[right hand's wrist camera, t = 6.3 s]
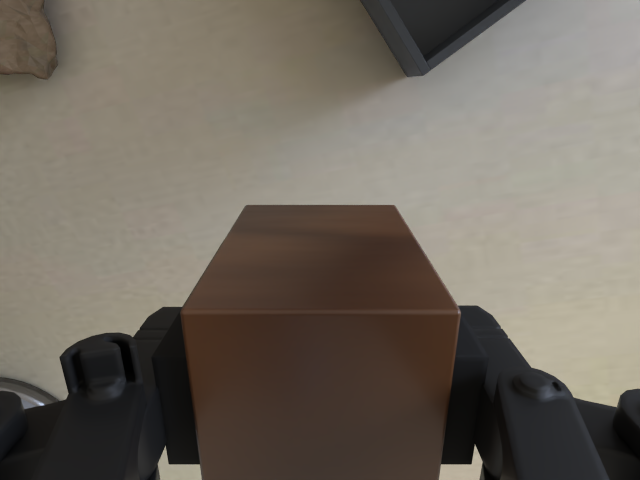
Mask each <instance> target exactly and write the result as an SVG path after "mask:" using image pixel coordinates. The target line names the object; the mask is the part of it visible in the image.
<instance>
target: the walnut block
mask: <svg viewBox="0 0 640 480" xmlns="http://www.w3.org/2000/svg"><path fill="white" fill-rule="evenodd" d="M180 314H181V322H182V330H183V337H184V345H185V353H186V360H187V368H188V376H189V383H190V391H191V399H192V406H193V414H194V422H195V429H196V437H197V445H198V452H199V460H200V468H201V475H202V480H439V474H440V466H441V459H442V451H443V444H444V436H445V429H446V421H447V414H448V407H449V399H450V392H451V384H452V377H453V369H454V362H455V354H456V347H457V339H458V332H459V324H460V317H461V311H460V309H459V307H458V306H457V304H456V303H455V301H454V299H453V298H452V296H451V294H450V293H449V291H448V290H447V288H446V286H445V285H444V283H443V282H442V280H441V278H440V277H439V275H438V274H437V272H436V270H435V269H434V267H433V266H432V264H431V262H430V261H429V259H428V258H427V256H426V254H425V253H424V251H423V250H422V248H421V246H420V245H419V243H418V242H417V240H416V238H415V237H414V235H413V234H412V232H411V230H410V229H409V227H408V226H407V224H406V222H405V221H404V219H403V218H402V216H401V214H400V213H399V211H398V209H397V208H396V206H394V205H246V206H245V207H244V209H243V211H242V212H241V214H240V215H239V217H238V219H237V220H236V222H235V223H234V225H233V227H232V228H231V230H230V232H229V233H228V235H227V236H226V238H225V240H224V241H223V243H222V244H221V246H220V248H219V249H218V251H217V253H216V254H215V256H214V257H213V259H212V261H211V262H210V264H209V266H208V267H207V269H206V270H205V272H204V274H203V275H202V277H201V278H200V280H199V282H198V283H197V285H196V287H195V288H194V290H193V291H192V293H191V295H190V296H189V298H188V300H187V301H186V303H185V304H184V306H183V308H182V309H181V312H180Z"/></svg>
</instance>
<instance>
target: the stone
mask: <svg viewBox="0 0 640 480" xmlns="http://www.w3.org/2000/svg"><path fill="white" fill-rule="evenodd" d="M43 6H44V0H0V74H7V75H9V74H13V73H17V74H33V75H34V76H36V77H38V78H41V79H48V78H49V77H50V76H51V75H52V73H53V71H54V69H55V68H56V67H57V64H58V61H57V58H56V54H57V53H56V43H55V39H54V36H53V33H52V30H51V26H50V23H49V21H48V19H47V17H46V15H45V13H44V9H43Z"/></svg>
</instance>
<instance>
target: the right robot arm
mask: <svg viewBox="0 0 640 480" xmlns="http://www.w3.org/2000/svg"><path fill="white" fill-rule="evenodd" d="M222 243H223V242H222ZM219 248H220V247H219ZM216 253H217V252H216ZM214 256H215V255H214ZM211 261H212V260H211ZM209 264H210V263H209ZM208 266H209V265H208ZM206 269H207V268H206ZM204 272H205V271H204ZM203 274H204V273H203ZM201 277H202V276H201ZM198 282H199V281H198ZM196 285H197V284H196ZM195 287H196V286H195ZM193 290H194V289H193ZM191 293H192V292H191ZM190 295H191V294H190ZM188 298H189V297H188ZM187 300H188V299H187ZM187 300H186V301H187ZM185 303H186V302H185ZM183 306H184V305H183ZM458 307H459V309H460V311H461V317H460V324H459V332H458V339H457V347H456V354H455V362H454V369H453V377H452V384H451V392H450V399H449V407H448V414H447V421H446V429H445V436H444V444H443V451H442V459H441V464H472V458H473V452H474V446H475V445H476V447H477V449H478V452H479V454H480V456H481V459H482V461H483V463H482V469H481V475H480V480H640V389H633V390H627V391H625V392H624V393H623V394H622V395H620V399H619V402H618V405H617V407H612V406H608V405H603V404H598V403H594V402H589V401H584V400H580V399H577V398H573V396H572V394H571V392H570V391H569V389H568V388H567V387H566V385H565V384H564V383H562V382H561V381H560V380H558V379H557V378H556V377H554V376H552V375H550V374H548V373H546V372H544V371H541V370H538V369H534V368H531V367H530V365H529V364H528V363H527V361H526V360H525V359H524V357H523V356H522V355H521V353H520V352H519V351H518V349H517V348H516V347H515V345H514V344H513V343H512V341H511V340H510V339H508V336H507V335H506V333H505V332H504V331H503V329H501V327H500V325H499V324H498V323H497V321H496V320H495V318H494V317H493V316H492V315H491V314H489V313H488V312H486V311H485V310H483V309H482V308H480V307H479V306H458ZM182 308H183V307H162V308H161V309H159V310H158V311H156V312H155V313H153V314H152V315H150V316H149V317H148V318H147V319H146V321H145V322H144V323H143V325H142V326H141V327H140V330H138V331H137V333H136V334H135V335H134V337H131V336H130V335H127V334H123V333H104V334H100V335H95V336H91V337H89V338H86V339H84V340H81V341H79V342H77V343H75V344H74V345H72V346H71V347H69V348H67V349H66V350H65V351H64V353H63V354H62V355H61V356H60V361H61V365H62V369H63V373H64V377H65V381H66V385H67V389H68V393H69V394H68V397H67V399H66V400H63V401H58V400H57V399H55V398H54V397H53V396H51V395H50V394H48V393H46V392H45V391H43V390H41V389H39V388H37V387H35V386H32V385H30V384H27V383H24V382H21V381H17V380H13V379H8V378H0V480H160V475H159V469H158V462H159V459H160V457H161V455H162V452H163V450H164V448H165V445H166V450H167V456H168V462H169V464H200V460H199V452H198V445H197V437H196V429H195V422H194V414H193V406H192V399H191V391H190V383H189V376H188V368H187V360H186V353H185V345H184V337H183V330H182V322H181V314H180V312H181V309H182Z"/></svg>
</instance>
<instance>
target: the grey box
mask: <svg viewBox="0 0 640 480" xmlns="http://www.w3.org/2000/svg"><path fill="white" fill-rule="evenodd" d="M524 1H526V0H361V2H362V4H363V5H364V7H365V9H366V10H367V12H368V13H369V15H370V17H371V18H372V20H373V22H374V23H375V25H376V27H377V28H378V30H379V32H380V33H381V35H382V36H383V38H384V40H385V41H386V43H387V45H388V46H389V48H390V50H391V51H392V53H393V55H394V56H395V58H396V59H397V61H398V63H399V64H400V66H401V68H402V69H403V71H404V73H405V74H406V76H407V77H414V76H423V75H425V74H426V73H427V72H429V71H430V70H431V69H433V68H434V67H436V66H437V65H438V64H440V63H441V62H442V61H444V60H445V59H447V58H448V57H449V56H451V55H452V54H453V53H455V52H456V51H457V50H459V49H460V48H462V47H463V46H464V45H466V44H467V43H468V42H470V41H471V40H472V39H474V38H475V37H477V36H478V35H479V34H481V33H482V32H483V31H485V30H486V29H487V28H489V27H490V26H492V25H493V24H494V23H496V22H497V21H498V20H500V19H501V18H502V17H504V16H505V15H507V14H508V13H509V12H511V11H512V10H513V9H515V8H516V7H517V6H519V5H520V4H522V3H523V2H524Z"/></svg>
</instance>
